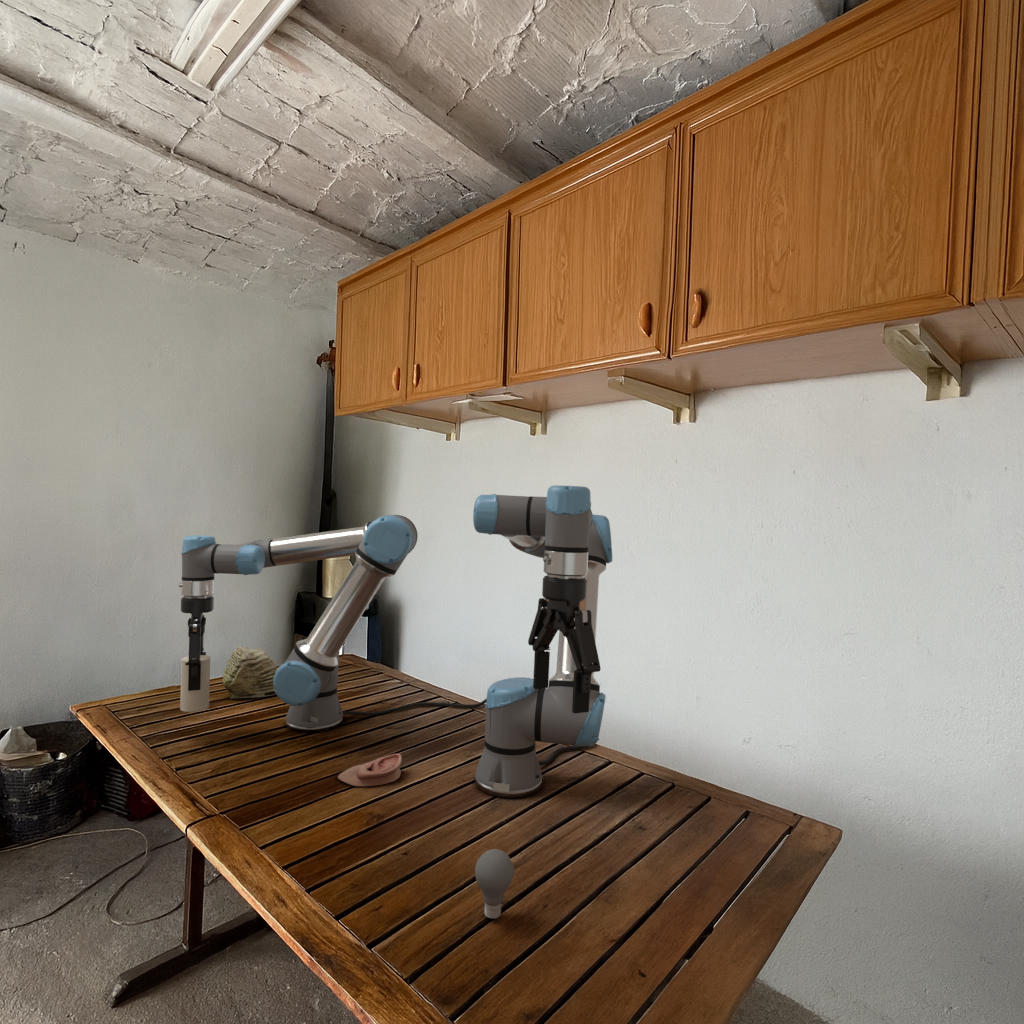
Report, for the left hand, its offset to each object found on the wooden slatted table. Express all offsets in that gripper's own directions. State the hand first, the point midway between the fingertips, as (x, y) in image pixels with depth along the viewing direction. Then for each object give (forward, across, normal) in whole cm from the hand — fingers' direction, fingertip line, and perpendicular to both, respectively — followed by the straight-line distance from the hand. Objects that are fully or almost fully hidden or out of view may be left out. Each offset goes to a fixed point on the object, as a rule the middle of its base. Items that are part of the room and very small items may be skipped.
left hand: (195, 685), depth 162 cm
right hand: (-16, +83, +62) cm, 105 cm away
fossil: (+13, -33, +14) cm, 38 cm away
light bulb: (+14, +90, +48) cm, 103 cm away
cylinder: (+6, 0, 0) cm, 6 cm away
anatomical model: (+14, +35, +39) cm, 54 cm away
